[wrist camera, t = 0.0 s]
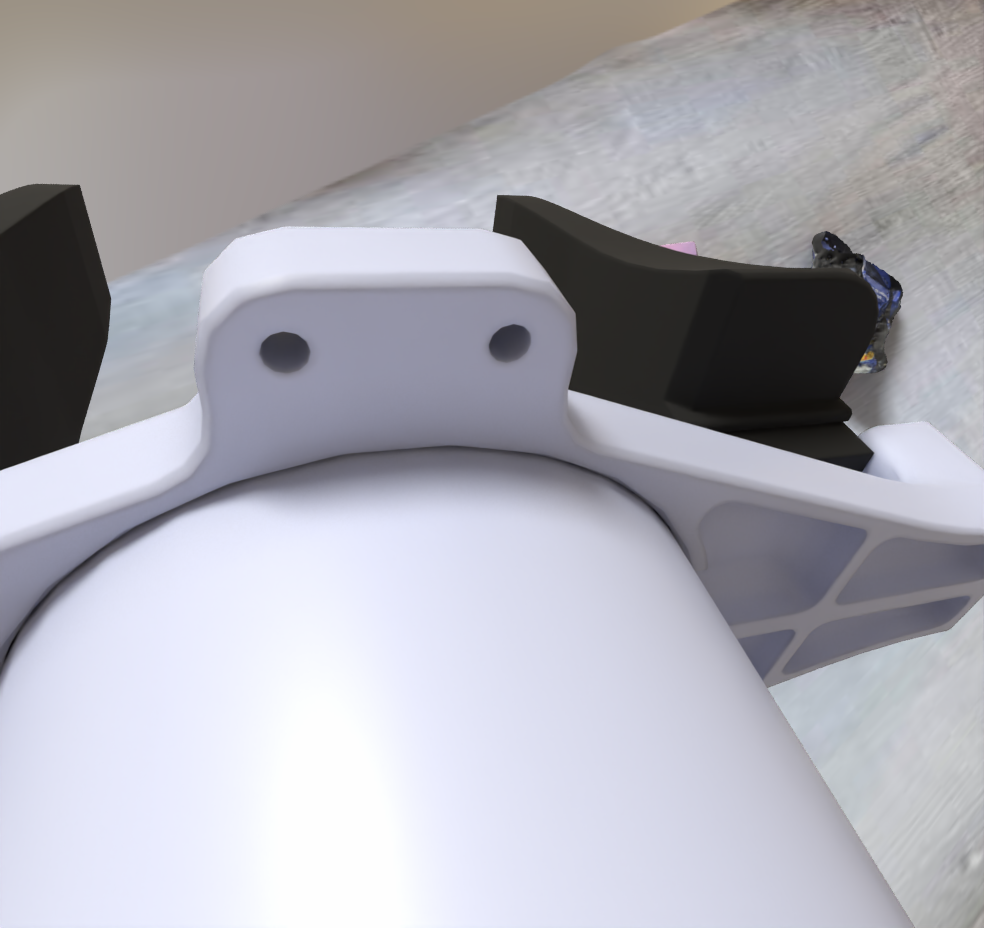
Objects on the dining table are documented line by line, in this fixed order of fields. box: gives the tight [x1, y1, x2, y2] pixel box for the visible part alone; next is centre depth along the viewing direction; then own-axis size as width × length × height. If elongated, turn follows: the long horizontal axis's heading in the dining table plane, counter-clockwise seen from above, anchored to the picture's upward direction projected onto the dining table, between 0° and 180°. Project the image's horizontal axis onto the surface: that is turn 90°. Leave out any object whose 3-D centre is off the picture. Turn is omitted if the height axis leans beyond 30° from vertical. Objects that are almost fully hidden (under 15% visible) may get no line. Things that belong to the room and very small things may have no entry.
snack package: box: [812, 231, 903, 373], centre depth 54 cm, size 12×6×12 cm
